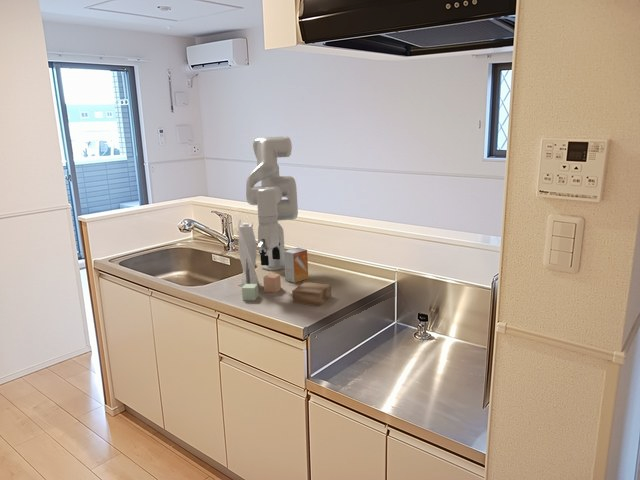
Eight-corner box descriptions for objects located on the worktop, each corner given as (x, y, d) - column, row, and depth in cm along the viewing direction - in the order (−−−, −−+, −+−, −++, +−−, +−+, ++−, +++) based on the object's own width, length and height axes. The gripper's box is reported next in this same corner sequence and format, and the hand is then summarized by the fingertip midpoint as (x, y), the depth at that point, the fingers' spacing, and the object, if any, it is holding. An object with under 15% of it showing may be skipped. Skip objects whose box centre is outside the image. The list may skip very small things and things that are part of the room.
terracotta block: (270, 287, 208) (269, 273, 207) (281, 288, 207) (280, 274, 205) (264, 291, 204) (263, 277, 203) (275, 292, 202) (274, 278, 201)
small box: (294, 283, 212) (293, 253, 209) (285, 280, 217) (283, 251, 214) (308, 278, 218) (307, 249, 215) (299, 275, 222) (297, 247, 219)
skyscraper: (236, 285, 214) (230, 220, 207) (250, 280, 219) (246, 217, 213) (248, 289, 208) (243, 222, 202) (263, 284, 214) (259, 219, 207)
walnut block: (305, 293, 200) (305, 281, 198) (331, 296, 195) (330, 284, 194) (292, 303, 190) (292, 290, 189) (319, 306, 185) (318, 293, 184)
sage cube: (246, 295, 200) (245, 283, 198) (258, 295, 199) (257, 283, 198) (242, 300, 195) (241, 288, 194) (255, 300, 194) (254, 288, 193)
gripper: (269, 216, 208) (272, 256, 211) (248, 223, 192) (251, 267, 195) (286, 216, 205) (288, 257, 208) (266, 224, 189) (269, 268, 193)
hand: (270, 262), depth 202 cm, fingers open, 9 cm apart
